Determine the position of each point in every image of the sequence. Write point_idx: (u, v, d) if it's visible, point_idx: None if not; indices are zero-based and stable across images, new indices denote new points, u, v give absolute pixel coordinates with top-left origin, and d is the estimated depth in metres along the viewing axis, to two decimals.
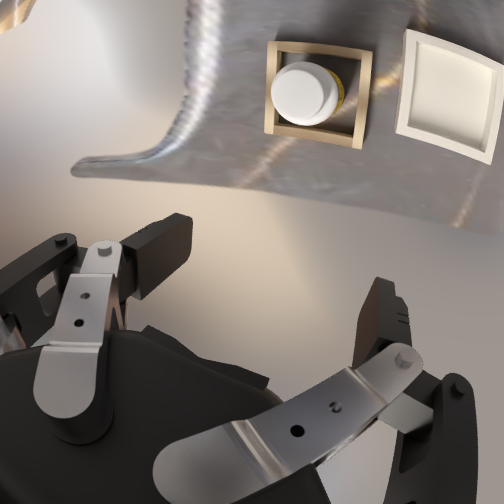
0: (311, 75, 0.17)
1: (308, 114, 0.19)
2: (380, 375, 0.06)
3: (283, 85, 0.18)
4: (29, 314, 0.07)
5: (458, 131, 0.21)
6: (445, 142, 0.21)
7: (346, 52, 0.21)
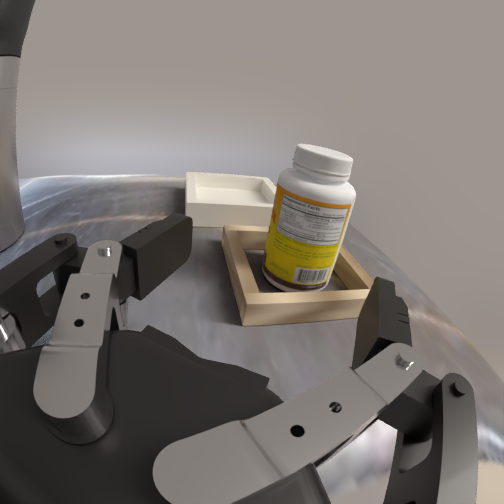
0: (298, 144, 0.18)
1: (336, 151, 0.19)
2: (380, 375, 0.06)
3: (324, 153, 0.17)
4: (29, 314, 0.07)
5: (258, 198, 0.36)
6: None
7: (234, 238, 0.23)
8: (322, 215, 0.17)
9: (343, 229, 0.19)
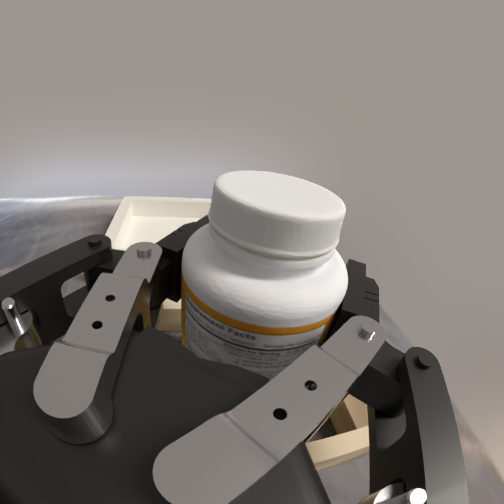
0: (223, 175, 0.09)
1: (312, 183, 0.09)
2: (339, 342, 0.07)
3: (273, 199, 0.07)
4: (50, 313, 0.07)
5: None
6: None
7: None
8: (262, 347, 0.08)
9: None
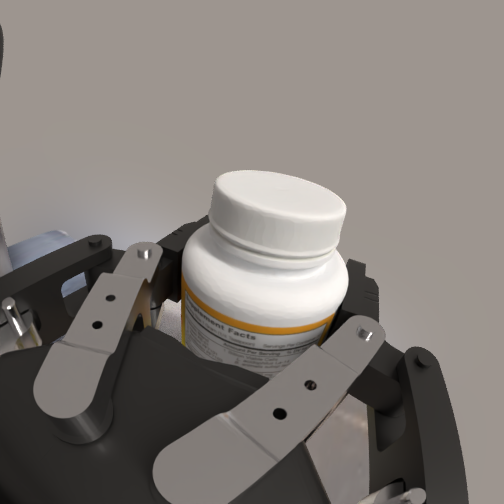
0: (224, 175, 0.09)
1: (313, 183, 0.09)
2: (338, 342, 0.07)
3: (273, 199, 0.07)
4: (51, 313, 0.07)
5: None
6: None
7: None
8: (262, 347, 0.08)
9: None
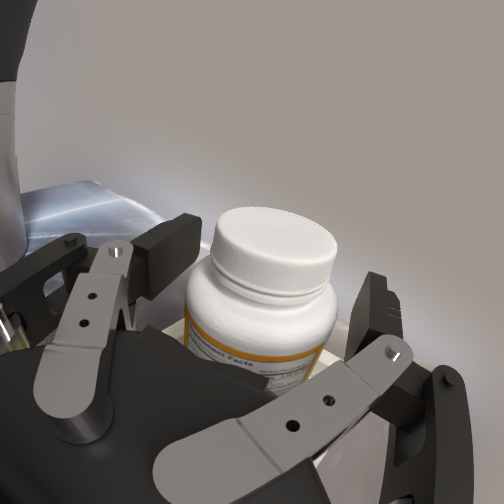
0: (225, 213, 0.10)
1: (307, 219, 0.10)
2: (369, 365, 0.06)
3: (270, 243, 0.08)
4: (35, 313, 0.07)
5: None
6: None
7: None
8: (258, 372, 0.08)
9: (307, 375, 0.10)
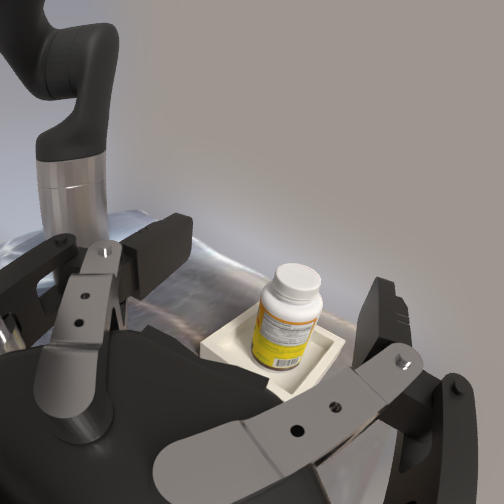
0: (277, 269, 0.24)
1: (309, 268, 0.25)
2: (380, 375, 0.06)
3: (297, 282, 0.23)
4: (29, 314, 0.07)
5: (310, 362, 0.28)
6: (318, 369, 0.26)
7: None
8: (293, 329, 0.23)
9: (311, 332, 0.25)
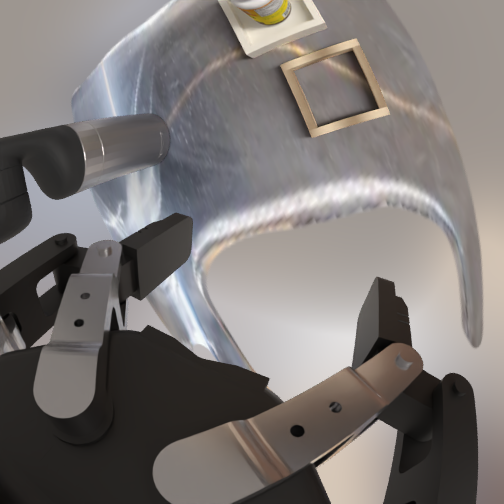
0: None
1: None
2: (380, 375, 0.06)
3: None
4: (29, 314, 0.07)
5: None
6: None
7: (291, 80, 0.31)
8: None
9: None
